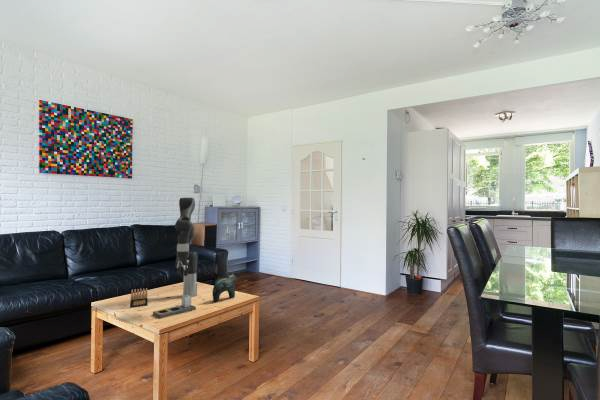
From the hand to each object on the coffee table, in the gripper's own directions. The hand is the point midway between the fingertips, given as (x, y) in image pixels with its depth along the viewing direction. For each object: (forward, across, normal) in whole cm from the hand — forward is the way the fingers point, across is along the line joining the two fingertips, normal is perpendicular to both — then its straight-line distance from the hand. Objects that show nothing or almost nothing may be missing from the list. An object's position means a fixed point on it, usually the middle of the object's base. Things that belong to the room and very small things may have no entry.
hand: (182, 274), depth 220 cm
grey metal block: (+23, -2, -2) cm, 23 cm away
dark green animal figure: (+23, 0, -34) cm, 41 cm away
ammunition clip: (+23, +26, +16) cm, 39 cm away
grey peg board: (+23, -2, +6) cm, 24 cm away
